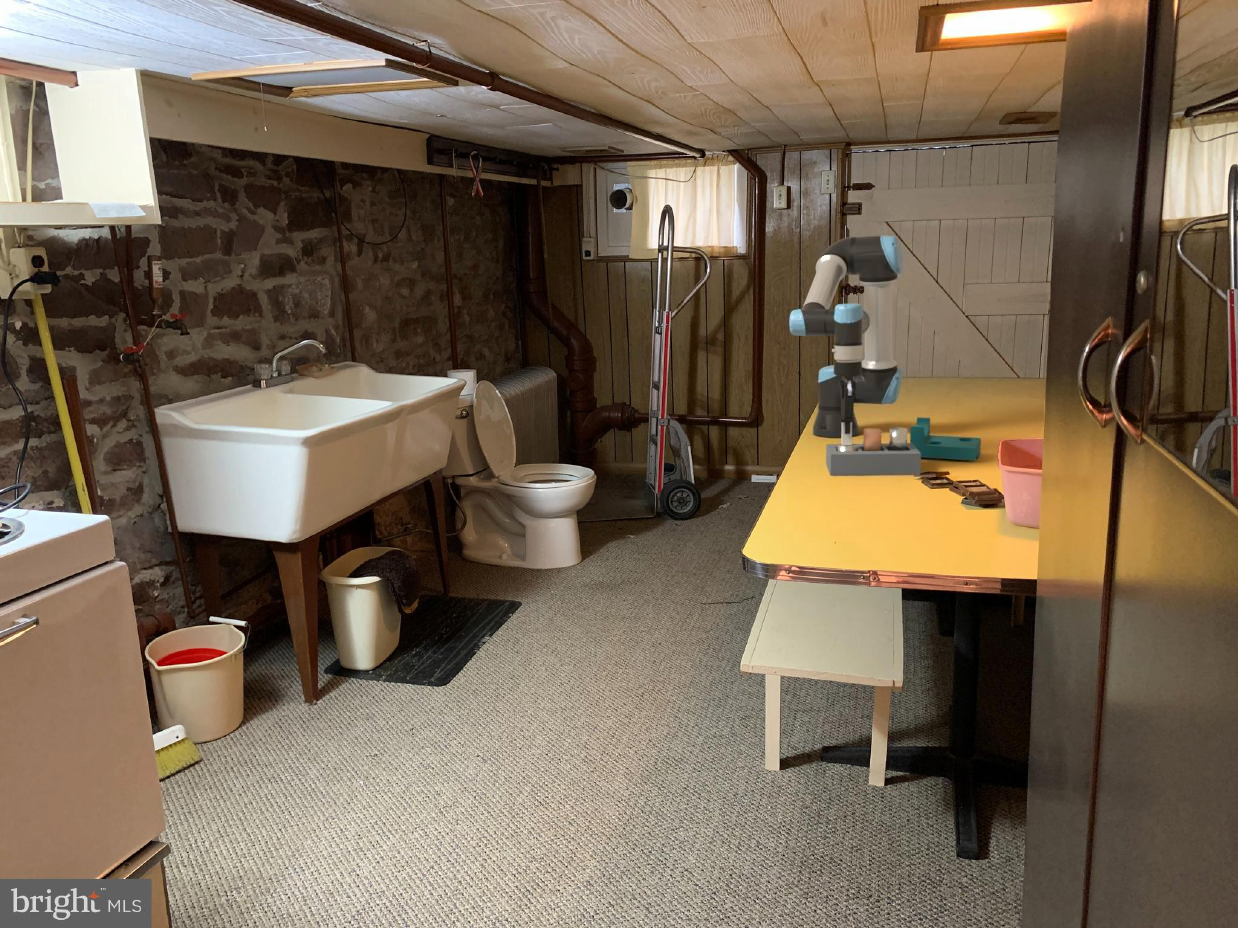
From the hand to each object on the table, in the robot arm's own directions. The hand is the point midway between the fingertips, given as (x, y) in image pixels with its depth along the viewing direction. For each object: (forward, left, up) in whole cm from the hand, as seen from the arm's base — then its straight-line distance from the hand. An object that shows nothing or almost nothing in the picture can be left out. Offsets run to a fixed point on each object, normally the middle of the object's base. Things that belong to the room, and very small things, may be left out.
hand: (846, 444), depth 265 cm
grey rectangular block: (0, +7, -7) cm, 10 cm away
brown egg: (0, +7, -2) cm, 7 cm away
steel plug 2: (0, +14, -2) cm, 14 cm away
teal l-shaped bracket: (-15, +30, -8) cm, 35 cm away
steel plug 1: (0, 0, -7) cm, 7 cm away
